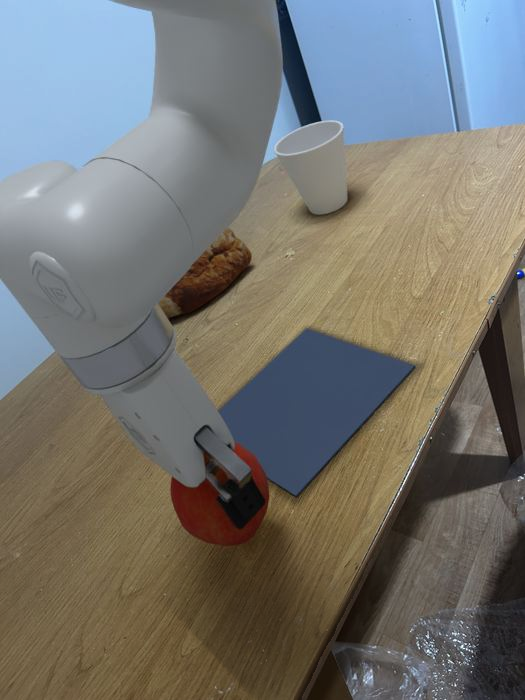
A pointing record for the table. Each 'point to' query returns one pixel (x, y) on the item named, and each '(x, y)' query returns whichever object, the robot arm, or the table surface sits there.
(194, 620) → the table surface
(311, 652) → the table surface
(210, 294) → the bread
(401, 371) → the napkin
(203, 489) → the apple
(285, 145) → the cup
